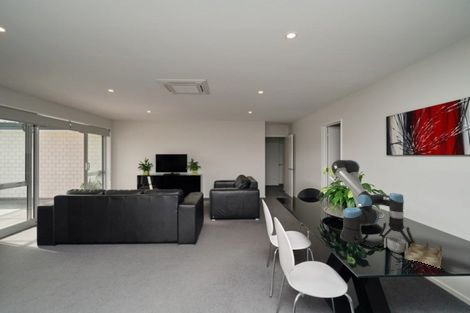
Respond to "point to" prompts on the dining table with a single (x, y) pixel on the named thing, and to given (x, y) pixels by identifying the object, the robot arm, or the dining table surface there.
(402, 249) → the teacup
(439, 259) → the rack
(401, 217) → the robot arm
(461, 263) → the dining table surface
